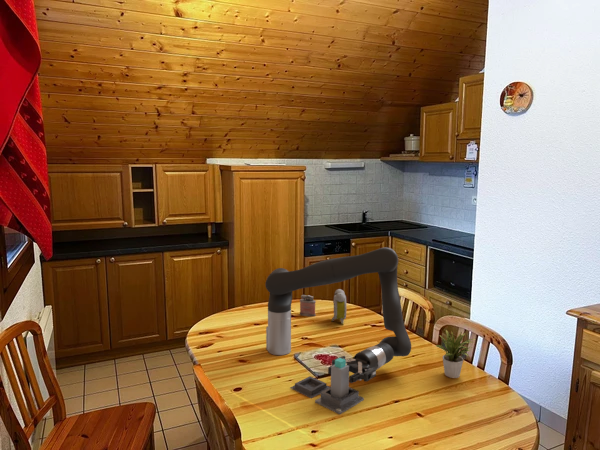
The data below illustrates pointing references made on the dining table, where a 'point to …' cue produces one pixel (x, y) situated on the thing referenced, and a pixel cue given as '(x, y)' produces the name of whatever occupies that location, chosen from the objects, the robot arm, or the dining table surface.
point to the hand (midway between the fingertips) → (339, 375)
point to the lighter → (307, 306)
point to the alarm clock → (339, 306)
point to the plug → (339, 378)
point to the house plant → (453, 354)
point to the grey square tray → (310, 387)
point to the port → (339, 400)
